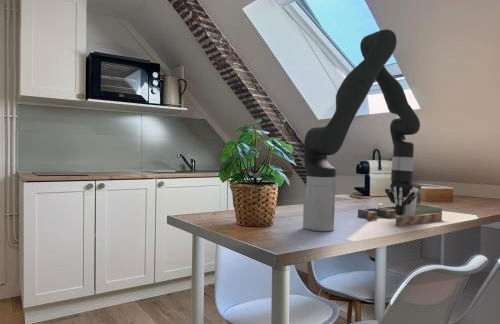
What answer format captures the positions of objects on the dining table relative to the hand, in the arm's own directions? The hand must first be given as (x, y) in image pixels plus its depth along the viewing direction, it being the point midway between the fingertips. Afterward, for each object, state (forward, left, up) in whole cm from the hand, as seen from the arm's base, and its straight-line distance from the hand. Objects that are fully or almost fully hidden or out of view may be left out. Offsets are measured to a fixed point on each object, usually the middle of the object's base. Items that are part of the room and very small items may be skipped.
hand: (399, 215), depth 137 cm
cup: (+5, +1, -2) cm, 5 cm away
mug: (+24, +12, -2) cm, 27 cm away
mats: (+3, +10, -2) cm, 10 cm away
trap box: (+3, +3, -2) cm, 5 cm away
